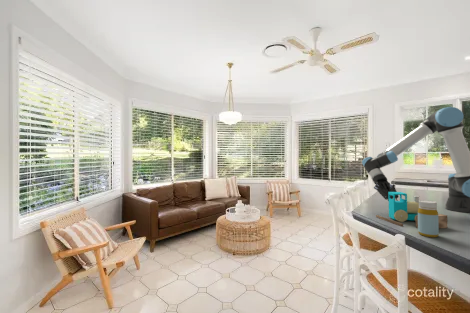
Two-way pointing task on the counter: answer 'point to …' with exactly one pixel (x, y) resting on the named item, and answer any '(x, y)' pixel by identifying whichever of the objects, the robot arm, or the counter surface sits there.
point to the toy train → (402, 207)
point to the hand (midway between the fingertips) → (399, 208)
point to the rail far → (389, 220)
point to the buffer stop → (441, 221)
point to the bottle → (428, 218)
